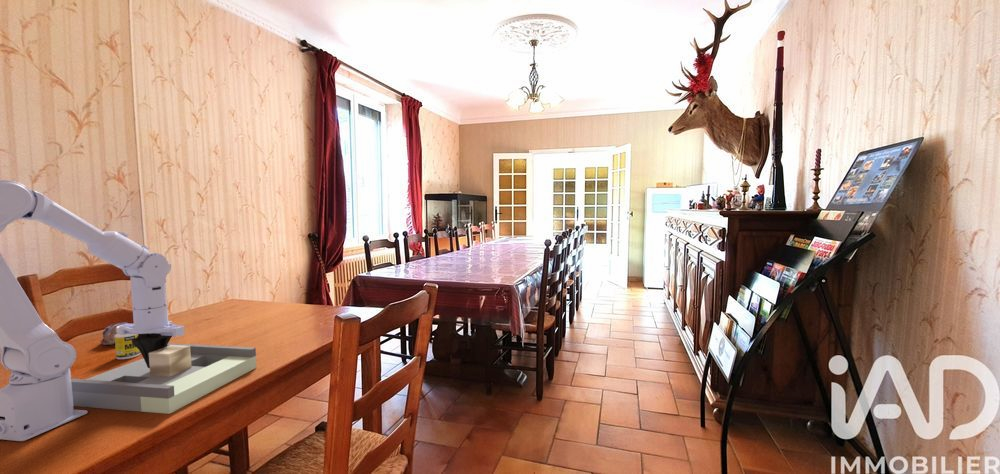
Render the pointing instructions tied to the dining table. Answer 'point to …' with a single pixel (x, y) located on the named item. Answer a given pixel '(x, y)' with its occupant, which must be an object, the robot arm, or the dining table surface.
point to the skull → (110, 334)
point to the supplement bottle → (125, 345)
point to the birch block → (170, 360)
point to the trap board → (164, 381)
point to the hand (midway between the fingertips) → (154, 366)
